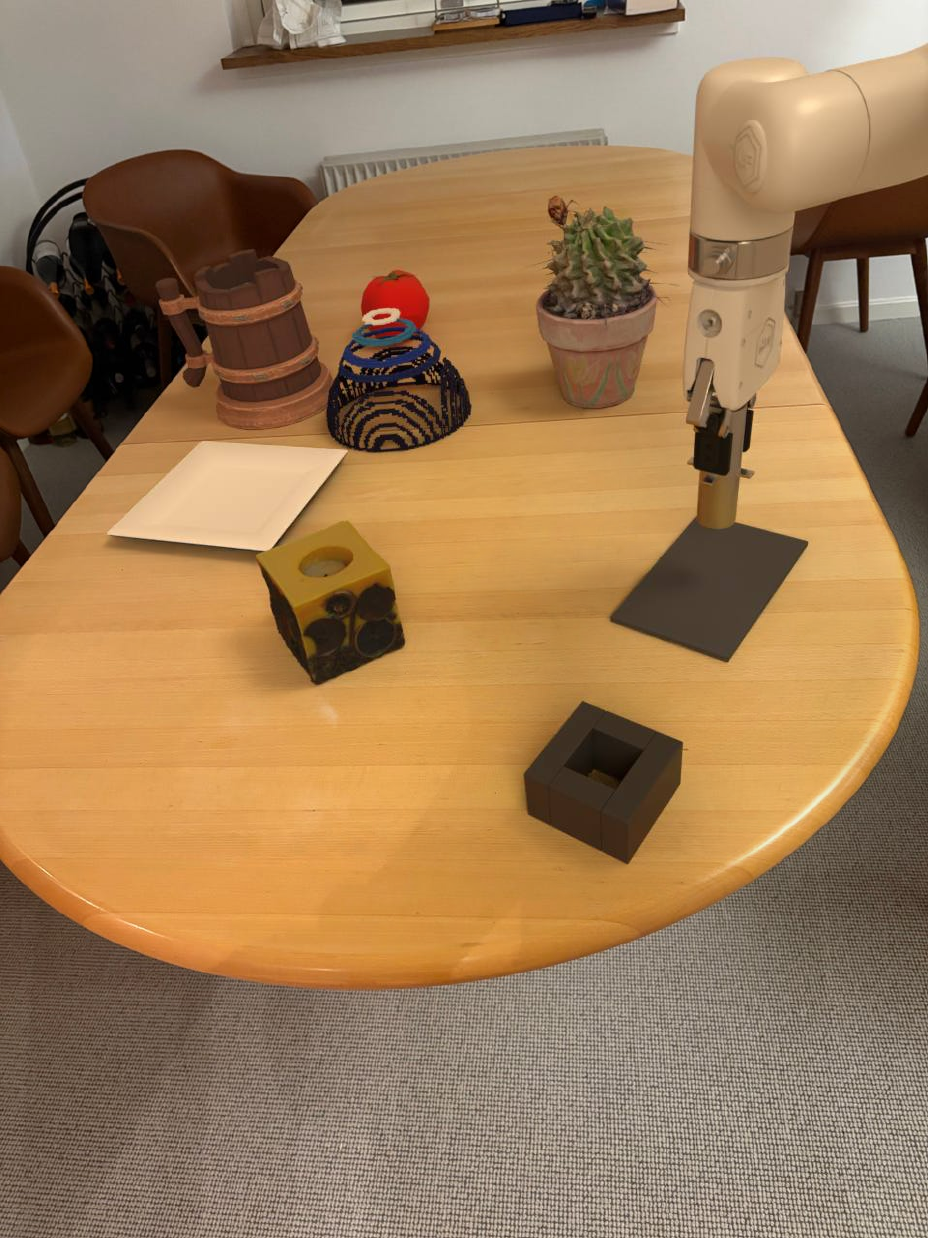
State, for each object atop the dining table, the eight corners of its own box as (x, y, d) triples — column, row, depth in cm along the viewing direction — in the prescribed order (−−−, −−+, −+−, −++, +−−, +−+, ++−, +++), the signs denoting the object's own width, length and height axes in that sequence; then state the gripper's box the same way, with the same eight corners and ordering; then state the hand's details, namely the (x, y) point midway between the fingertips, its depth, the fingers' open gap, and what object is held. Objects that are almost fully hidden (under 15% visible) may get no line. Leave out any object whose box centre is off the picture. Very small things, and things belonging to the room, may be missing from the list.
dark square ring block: (680, 783, 70) (683, 741, 67) (627, 865, 65) (628, 824, 62) (584, 741, 74) (582, 700, 71) (527, 814, 69) (522, 773, 66)
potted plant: (663, 429, 112) (670, 224, 96) (517, 419, 119) (501, 226, 103) (687, 367, 125) (697, 177, 109) (554, 361, 131) (544, 180, 115)
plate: (110, 546, 106) (104, 532, 105) (205, 452, 122) (201, 439, 121) (273, 564, 100) (268, 549, 98) (351, 462, 115) (348, 448, 114)
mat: (807, 545, 91) (808, 540, 90) (728, 662, 79) (728, 657, 79) (698, 516, 97) (699, 512, 97) (609, 621, 85) (609, 616, 85)
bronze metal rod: (759, 510, 84) (773, 394, 76) (733, 543, 80) (745, 425, 72) (699, 495, 87) (707, 382, 79) (672, 526, 83) (677, 411, 75)
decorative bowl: (474, 378, 130) (463, 280, 121) (466, 445, 115) (452, 339, 106) (343, 389, 133) (322, 293, 123) (318, 456, 117) (291, 353, 108)
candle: (277, 633, 90) (250, 554, 84) (365, 594, 93) (346, 516, 87) (314, 690, 83) (288, 608, 77) (409, 646, 86) (391, 565, 80)
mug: (214, 377, 142) (173, 249, 129) (350, 368, 138) (321, 236, 125) (171, 433, 128) (120, 297, 115) (321, 426, 124) (286, 284, 111)
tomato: (355, 351, 143) (342, 288, 136) (382, 320, 152) (371, 259, 145) (419, 352, 139) (409, 288, 133) (443, 320, 148) (435, 258, 142)
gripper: (742, 295, 61) (722, 516, 73) (826, 219, 70) (796, 426, 82) (643, 283, 65) (640, 495, 76) (736, 212, 74) (720, 410, 86)
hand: (721, 457), depth 79 cm, fingers closed on bronze metal rod, 3 cm apart
